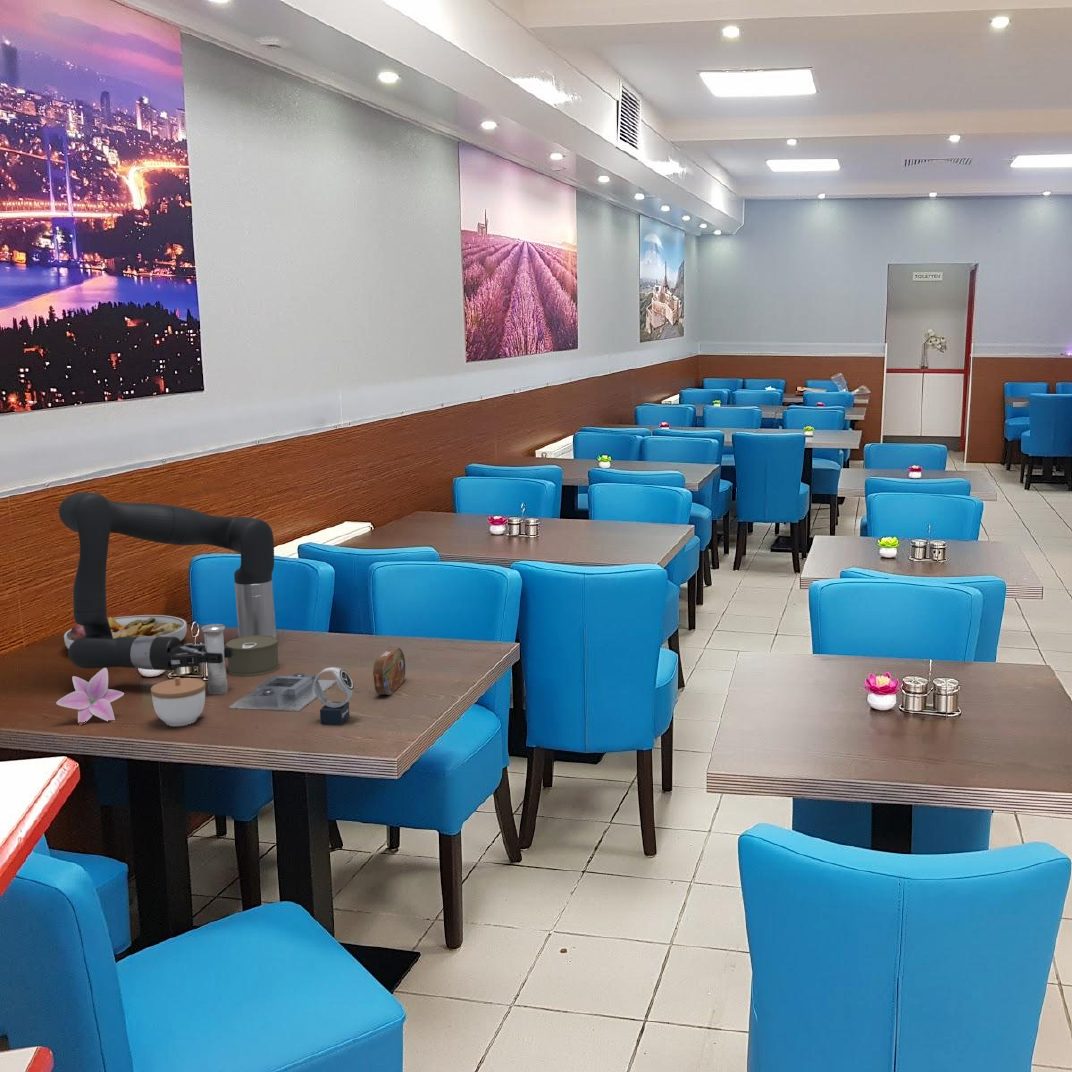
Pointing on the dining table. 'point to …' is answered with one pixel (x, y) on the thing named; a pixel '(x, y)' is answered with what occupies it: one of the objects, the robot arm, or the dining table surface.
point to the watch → (334, 710)
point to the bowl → (136, 627)
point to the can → (253, 655)
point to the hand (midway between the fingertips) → (226, 655)
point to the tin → (389, 671)
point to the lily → (91, 697)
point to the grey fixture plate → (283, 693)
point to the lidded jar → (179, 700)
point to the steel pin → (215, 670)
